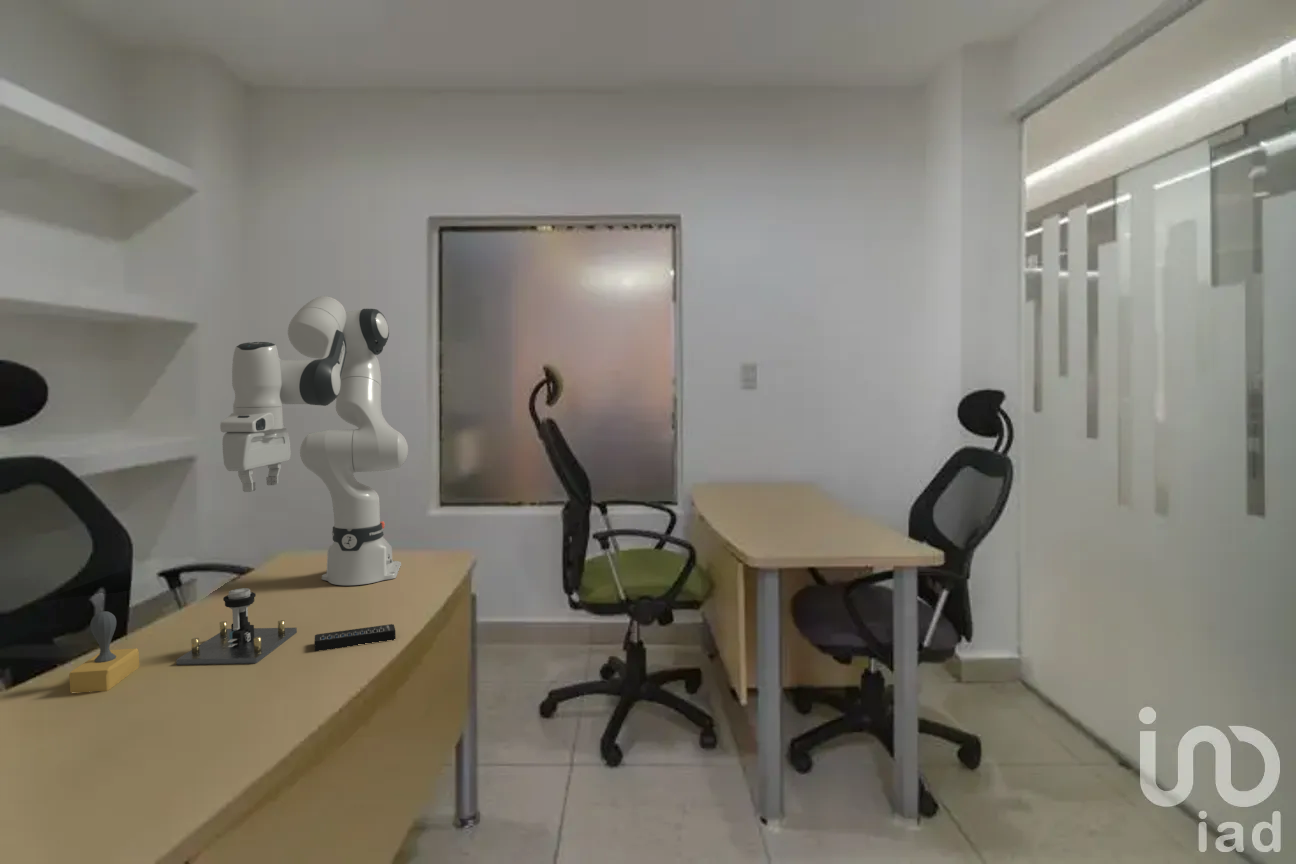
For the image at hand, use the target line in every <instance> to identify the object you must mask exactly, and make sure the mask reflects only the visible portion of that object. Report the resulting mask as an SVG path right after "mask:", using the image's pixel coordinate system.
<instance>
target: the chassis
mask: <svg viewBox="0 0 1296 864" xmlns="http://www.w3.org/2000/svg"><path fill="white" fill-rule="evenodd" d="M227 623H228V622H227V621H226V620H223V621H220V622H219V633H217V634H216V635H214V636H212V637H210V638H208V640H205V641H204V642H202V643H201V644H200V638H199V637H194V638H191V639H190V640H191V641H190V643H191V650H190V651H187V652H186V653H184V654H183V655H181V656H180V657H178V658H177V659H176V661H175V662H176V666H182V665H184V666H185V665H186V666H187V665H188V666H190V665H191V666H193V665H196V666H197V665H199V666H200V665H238V664H239V665H240V664H243V665H245V664H258V663H259V662H260V661H261V660H263V659H264V658H265V657H267V656H268V655H269V654H271V653H272V652H273V651H274V650H276V649H277V648H279V647H280V646H281V645H282V644H284V643H285V642H286V641H288V640H289V639H290V638H291V637H293V636H294V635H296V634H297V632H298V631H297V630H298V629H297V628H298V627H285V625H286V622H285V620H284V619H280V620H278V621H277V627H263V628H262V627H257V628H255V627H254V638H253V639H251V640H250V641H249V642H245V643H244V644H242V645H241V646H233V647H228V646H230V642H228V641H230V636H229V633H230V632H232V631H231V630H232V629H231V628H228V624H227Z"/></svg>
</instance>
